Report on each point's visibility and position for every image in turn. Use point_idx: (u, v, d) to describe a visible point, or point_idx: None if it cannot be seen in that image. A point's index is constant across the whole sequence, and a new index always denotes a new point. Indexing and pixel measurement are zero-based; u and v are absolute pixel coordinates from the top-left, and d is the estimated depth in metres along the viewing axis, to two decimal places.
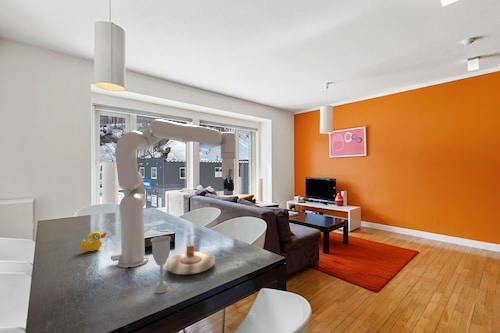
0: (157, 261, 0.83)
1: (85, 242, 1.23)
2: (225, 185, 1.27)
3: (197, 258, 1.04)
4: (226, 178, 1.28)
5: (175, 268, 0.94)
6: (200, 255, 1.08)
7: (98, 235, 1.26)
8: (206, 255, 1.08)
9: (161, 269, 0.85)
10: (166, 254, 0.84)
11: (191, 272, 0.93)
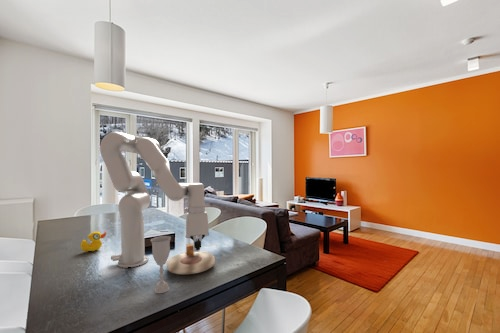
0: (157, 261, 0.83)
1: (85, 242, 1.23)
2: None
3: (197, 258, 1.04)
4: None
5: (175, 268, 0.94)
6: (200, 255, 1.08)
7: (98, 235, 1.26)
8: (206, 254, 1.08)
9: (161, 269, 0.85)
10: (166, 254, 0.84)
11: (191, 272, 0.93)
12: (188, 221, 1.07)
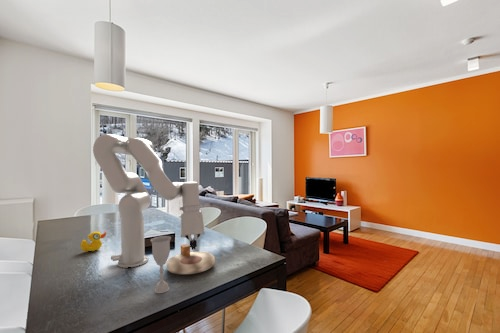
0: (157, 261, 0.83)
1: (85, 242, 1.23)
2: (193, 244, 1.09)
3: (196, 258, 1.04)
4: None
5: (180, 269, 0.93)
6: (197, 255, 1.08)
7: (98, 235, 1.26)
8: (203, 254, 1.09)
9: (161, 269, 0.85)
10: (166, 254, 0.84)
11: (198, 271, 0.94)
12: (183, 220, 1.06)
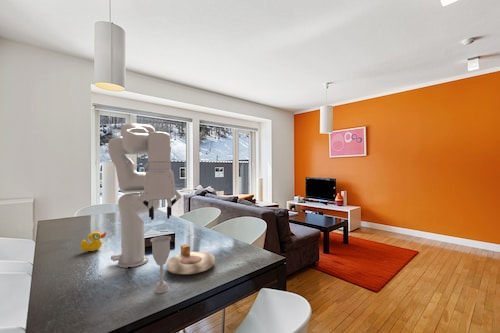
0: (157, 261, 0.83)
1: (85, 242, 1.23)
2: (153, 214, 0.84)
3: (196, 258, 1.04)
4: None
5: (180, 269, 0.93)
6: (197, 255, 1.08)
7: (98, 235, 1.26)
8: (203, 254, 1.09)
9: (161, 269, 0.85)
10: (166, 254, 0.84)
11: (198, 271, 0.94)
12: (147, 180, 0.81)
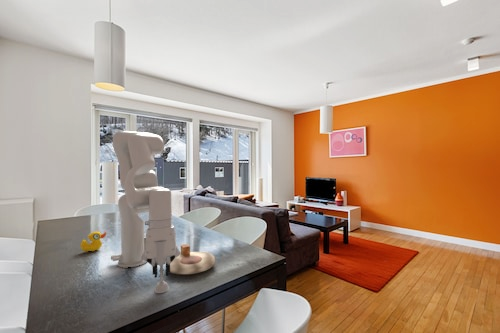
0: (157, 261, 0.83)
1: (85, 242, 1.23)
2: (156, 271, 0.84)
3: (196, 258, 1.04)
4: None
5: (180, 269, 0.93)
6: (197, 255, 1.08)
7: (98, 235, 1.26)
8: (203, 254, 1.09)
9: (161, 269, 0.85)
10: None
11: (198, 271, 0.94)
12: (148, 239, 0.81)
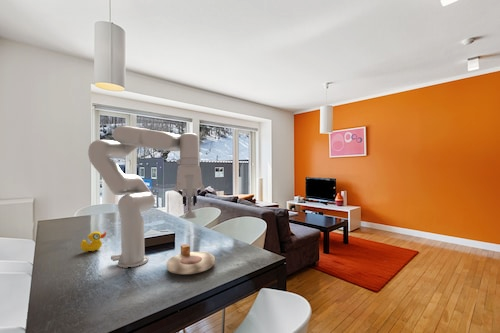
0: (187, 192, 1.00)
1: (85, 242, 1.23)
2: None
3: (196, 258, 1.04)
4: None
5: (180, 269, 0.93)
6: (197, 255, 1.08)
7: (98, 235, 1.26)
8: (203, 254, 1.09)
9: (190, 200, 1.02)
10: None
11: (198, 271, 0.94)
12: (179, 173, 0.99)
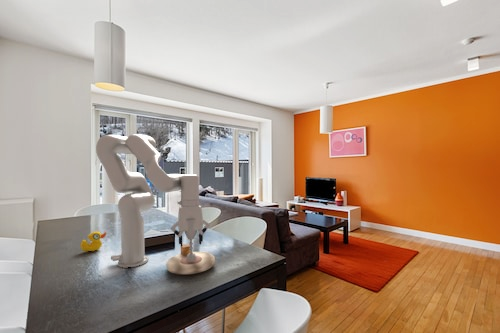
0: (188, 235, 1.01)
1: (85, 242, 1.23)
2: None
3: None
4: None
5: (180, 269, 0.93)
6: (197, 255, 1.08)
7: (98, 235, 1.26)
8: (203, 254, 1.09)
9: (191, 243, 1.02)
10: (195, 230, 1.01)
11: (198, 271, 0.94)
12: (180, 215, 0.99)
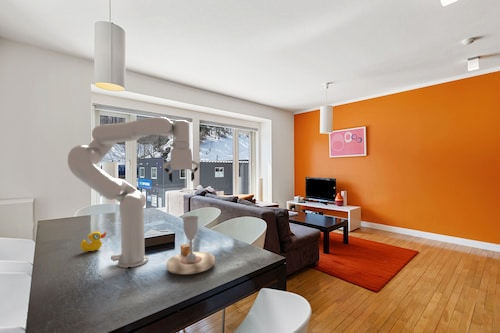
0: (188, 235, 1.01)
1: (85, 242, 1.23)
2: None
3: None
4: (169, 170, 1.14)
5: (180, 269, 0.93)
6: (197, 255, 1.08)
7: (98, 235, 1.26)
8: (203, 254, 1.09)
9: (191, 243, 1.02)
10: (195, 230, 1.01)
11: (198, 271, 0.94)
12: (172, 155, 1.12)
